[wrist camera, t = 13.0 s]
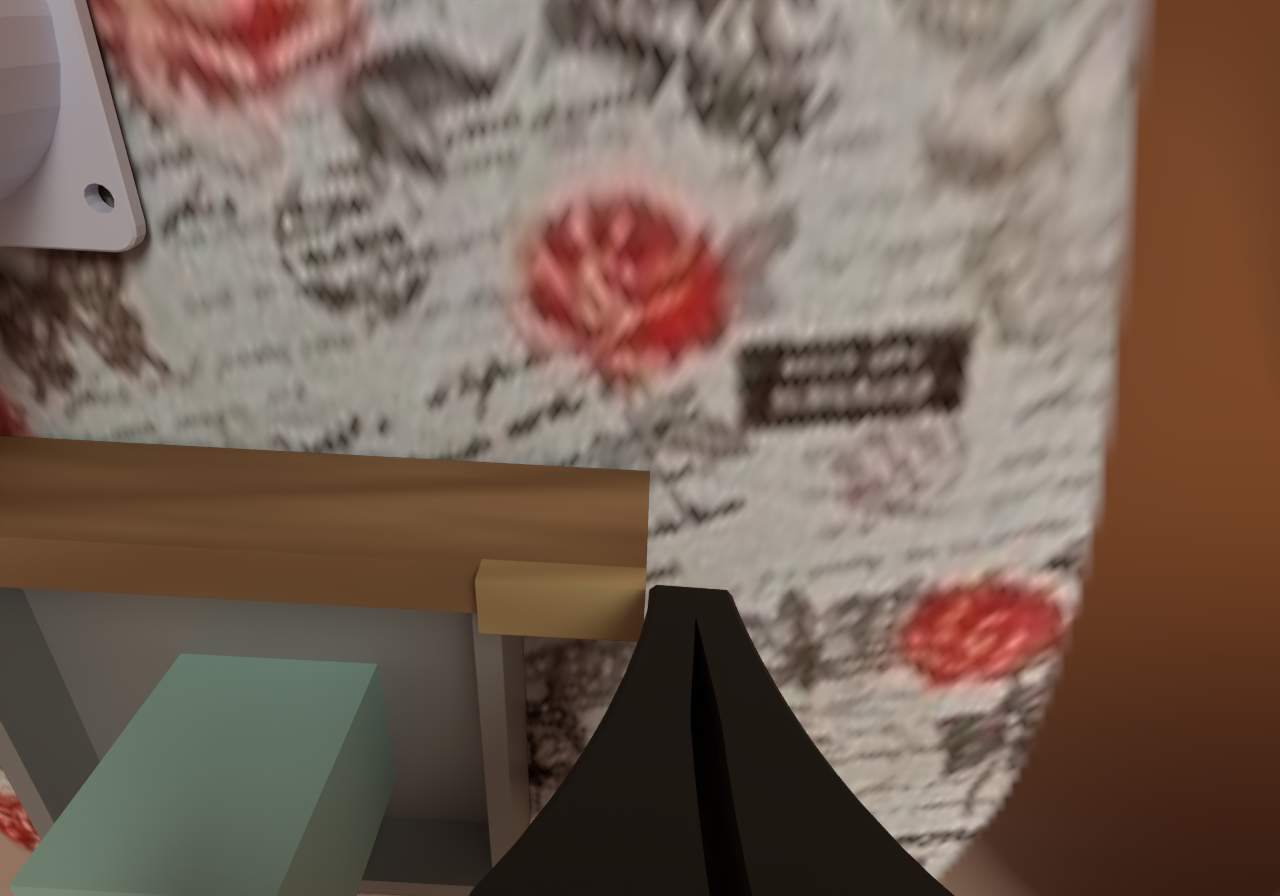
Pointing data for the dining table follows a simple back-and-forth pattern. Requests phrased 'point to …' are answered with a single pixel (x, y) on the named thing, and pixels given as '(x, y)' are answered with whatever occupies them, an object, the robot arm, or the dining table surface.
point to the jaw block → (230, 787)
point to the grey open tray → (392, 638)
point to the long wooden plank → (331, 532)
